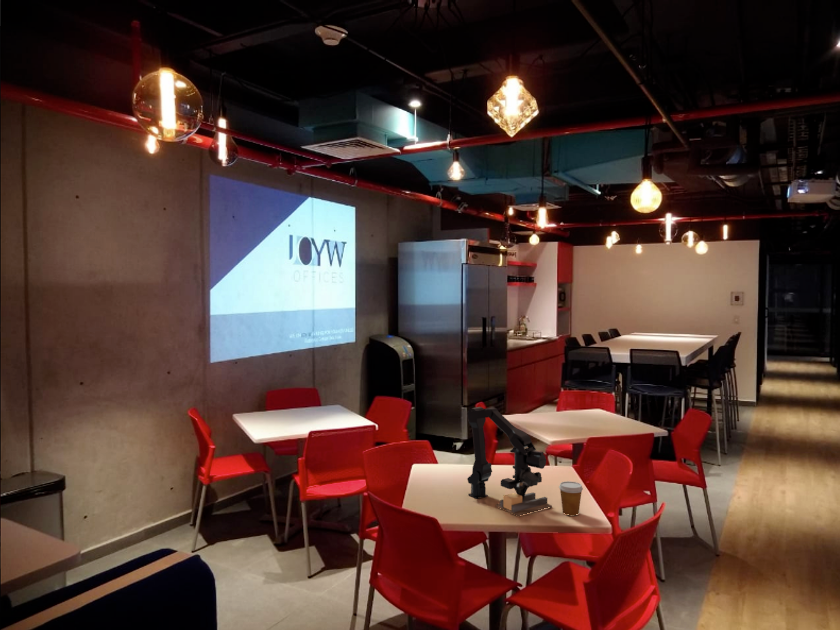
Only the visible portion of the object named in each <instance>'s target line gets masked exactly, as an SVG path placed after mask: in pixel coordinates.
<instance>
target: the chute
mask: <svg viewBox="0 0 840 630" xmlns="http://www.w3.org/2000/svg"><path fill="white" fill-rule="evenodd" d="M495 507H496V508H498V507H499V508H498V509H500V508H501V509H500V510H502V509H504V510H506V511H505V512H507V511H508V512H507V513H509V512H510V513H509V514H511V513H513V514H515V515H514V516H516V515H517V516H516V517H518V516H519V517H521V516H520V515H523V514H527V513H530V512H534V511H538V510H541V509H544V508H548V507H552V508H553V505H552V504H549V503H548V497H547V496H543V497H539V498H536V492H530V493H525V496H524V499H523V501H522V503H518V504H514V505H511V510H509V509H506V508H504V507H503V499H501V500H499V503H496V504H495ZM504 510H503V511H504ZM538 512H539V511H538ZM534 513H535V512H534ZM513 514H512V515H513ZM527 515H528V514H527ZM523 516H524V515H523Z"/></svg>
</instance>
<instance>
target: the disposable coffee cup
mask: <svg viewBox="0 0 840 630" xmlns="http://www.w3.org/2000/svg"><path fill="white" fill-rule="evenodd" d="M558 488H559V490H560V500H561V508H562V514H563V513H565V514H569V515H576V514H578V513H579V514H580V504H581V498H582V492H583V490H584V487H583V485H582V483H580V482H576V481H570V480H569V481H568V480H567V481H562V482H560V484H559V486H558ZM565 514H564V515H565Z"/></svg>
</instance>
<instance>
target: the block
mask: <svg viewBox="0 0 840 630" xmlns="http://www.w3.org/2000/svg"><path fill="white" fill-rule="evenodd" d="M502 498H503V499H502V500H503V507H504V508H506V509H509V510H511V505H514V504H518V503H522V496H521V495H518V494H517V493H516V492H512V493H507V494H503V497H502Z"/></svg>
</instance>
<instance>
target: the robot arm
mask: <svg viewBox="0 0 840 630" xmlns="http://www.w3.org/2000/svg"><path fill="white" fill-rule="evenodd" d="M466 416H467V421H468V424H469V426H470V427H471V429H472V441H473V451H474V452H473V453H474V462H473V465H472V473H471V475H469V476H468V477H467V478H466V479H467V482H468V484H470V493H467V494H468V496H470V497H472V498H474V499H482V498H487V497H488V496H489V495H488V494H487V491H486V490H487V488H486V482H488V481H489V479H490V477H491V476H492V473H493V470H492V469H493V468H492V463H491V462H488V459H487V455H486V454H487V453H486V445H485V435H484V434H485V431H484V426H485V424H486V418H489V419H490V420H491V421H492V422H493V423H494V424H495V425H496V426H497V427H498V428H499V429H500V431H502V432H503V433H504V434H505V435H506V436H507V437H508V440H509V443H510V444H511V445H512V448H511V449H510V451H509V452H510V453H513V454H514V465H512V469H514V474H513V475H512V479H511V478H510V477H507V478H503V479H501V480H500V487H503V488H505V489H508V490H513V489H514V491H515V493H516V494H518V495H521V496H522V501H523V499H524V496H525V494H527V493H526V492H527V490H528V489H529V488H530V487H531V488H532V487H533V486H538V483H542V480H543V477H542V473H541V472H540V471H537V472H532V468H537V469H541V470H542V469H545V467H546V464H547V458H546V455H544V451H542V450H541V451H539V450H537V448H536V447H535V445H534V444H533V441H532V440H531V437H530V435H529V434H527V433H526V432H525V431H523V430H521V429H520V428H517V427H515V425H513V423H512V422H510V421H509V420H508V419H507V418H506V417H505V416H504V415H503V414H502V413H500V412H499V410H498V408H496V407H488V408H487V407H486V408H484V407H483V406H478V407H473V408H469V409H468V410H467V412H466ZM531 467H532V468H531Z"/></svg>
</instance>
